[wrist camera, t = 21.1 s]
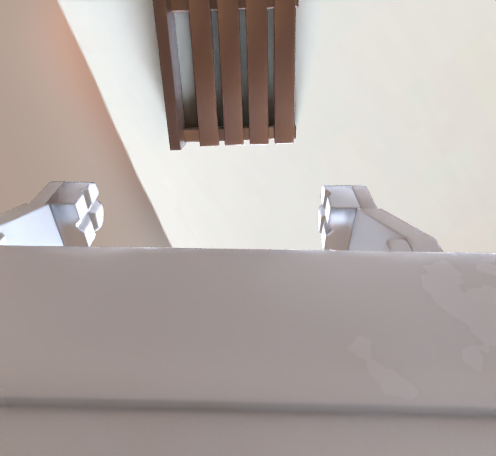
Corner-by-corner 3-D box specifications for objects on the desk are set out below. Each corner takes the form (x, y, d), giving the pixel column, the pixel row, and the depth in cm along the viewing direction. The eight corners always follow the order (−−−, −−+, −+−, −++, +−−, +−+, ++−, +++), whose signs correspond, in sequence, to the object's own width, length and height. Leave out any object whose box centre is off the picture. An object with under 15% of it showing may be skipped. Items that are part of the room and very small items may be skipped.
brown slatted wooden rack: (297, -12, 33) (302, -20, 29) (294, 139, 38) (298, 146, 35) (159, -7, 33) (149, -14, 30) (175, 143, 38) (169, 150, 35)
